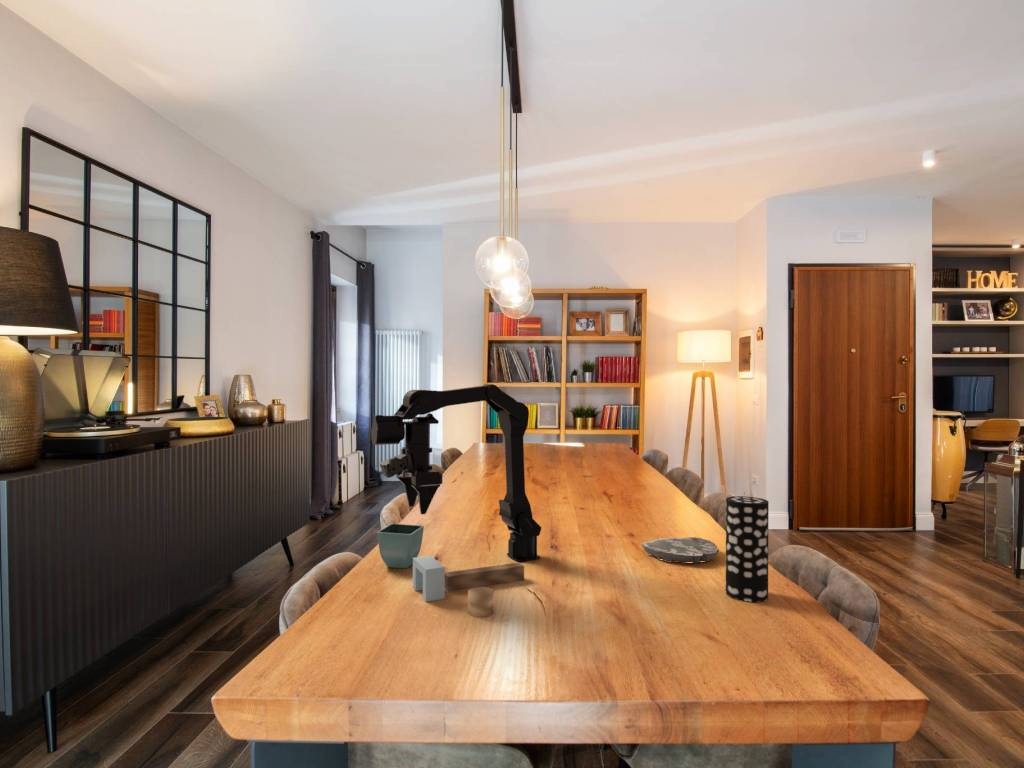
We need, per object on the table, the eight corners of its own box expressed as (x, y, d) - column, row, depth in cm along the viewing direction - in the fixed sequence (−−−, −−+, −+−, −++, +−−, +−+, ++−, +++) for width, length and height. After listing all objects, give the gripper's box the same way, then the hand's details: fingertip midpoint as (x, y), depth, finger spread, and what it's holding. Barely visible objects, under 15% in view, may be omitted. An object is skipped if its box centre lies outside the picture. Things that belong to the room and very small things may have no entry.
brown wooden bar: (518, 578, 133) (518, 562, 133) (524, 581, 130) (524, 565, 130) (443, 589, 125) (443, 572, 125) (447, 593, 123) (447, 576, 123)
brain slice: (675, 571, 138) (675, 559, 138) (633, 552, 153) (633, 541, 153) (737, 562, 146) (737, 550, 146) (691, 545, 161) (691, 534, 161)
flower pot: (411, 572, 135) (411, 534, 135) (376, 569, 137) (376, 531, 137) (424, 561, 144) (424, 525, 144) (391, 559, 146) (391, 523, 146)
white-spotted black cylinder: (766, 590, 124) (766, 497, 124) (770, 604, 116) (770, 505, 116) (725, 586, 127) (725, 495, 127) (726, 599, 119) (726, 502, 119)
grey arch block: (430, 585, 127) (430, 555, 127) (444, 598, 119) (444, 567, 119) (412, 587, 125) (412, 557, 125) (425, 601, 117) (425, 569, 117)
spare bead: (487, 605, 115) (487, 585, 115) (497, 614, 111) (498, 593, 111) (463, 609, 113) (464, 589, 113) (473, 619, 109) (473, 597, 109)
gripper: (373, 441, 140) (373, 505, 140) (393, 448, 123) (393, 522, 123) (418, 439, 145) (417, 501, 145) (443, 446, 128) (443, 517, 128)
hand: (417, 510), depth 135 cm, fingers open, 9 cm apart
